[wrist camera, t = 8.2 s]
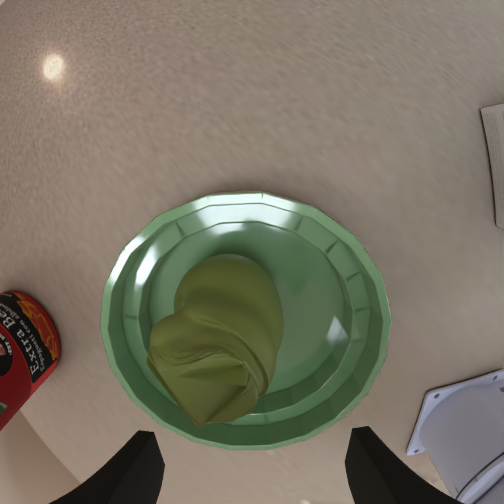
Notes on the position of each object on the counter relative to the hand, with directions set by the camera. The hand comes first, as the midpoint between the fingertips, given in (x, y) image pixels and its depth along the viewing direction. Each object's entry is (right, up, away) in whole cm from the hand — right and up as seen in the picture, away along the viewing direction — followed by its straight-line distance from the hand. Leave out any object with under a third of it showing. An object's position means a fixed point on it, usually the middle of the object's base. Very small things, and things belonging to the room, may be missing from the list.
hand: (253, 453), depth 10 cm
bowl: (0, +3, +10) cm, 10 cm away
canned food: (-18, +1, +11) cm, 21 cm away
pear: (-1, +5, +9) cm, 10 cm away
